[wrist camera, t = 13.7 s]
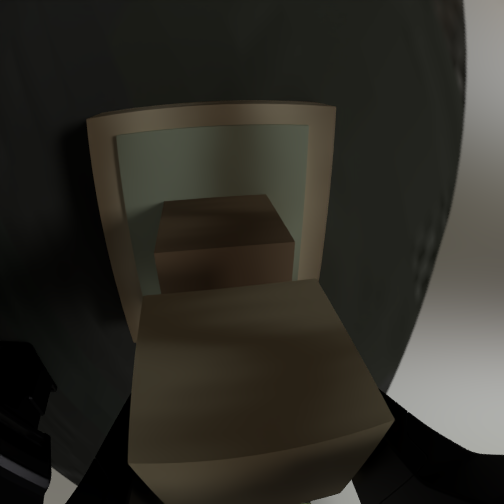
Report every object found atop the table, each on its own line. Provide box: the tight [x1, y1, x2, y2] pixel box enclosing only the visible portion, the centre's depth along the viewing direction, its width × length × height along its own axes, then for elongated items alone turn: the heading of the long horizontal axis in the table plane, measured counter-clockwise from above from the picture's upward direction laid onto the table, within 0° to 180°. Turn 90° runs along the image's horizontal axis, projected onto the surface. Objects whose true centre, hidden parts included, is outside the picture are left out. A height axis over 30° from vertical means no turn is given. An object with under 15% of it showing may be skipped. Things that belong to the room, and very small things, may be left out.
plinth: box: [86, 100, 336, 342], centre depth 18 cm, size 12×14×3 cm
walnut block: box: [154, 194, 295, 294], centre depth 15 cm, size 5×5×5 cm
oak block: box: [128, 278, 395, 504], centre depth 8 cm, size 5×5×5 cm
